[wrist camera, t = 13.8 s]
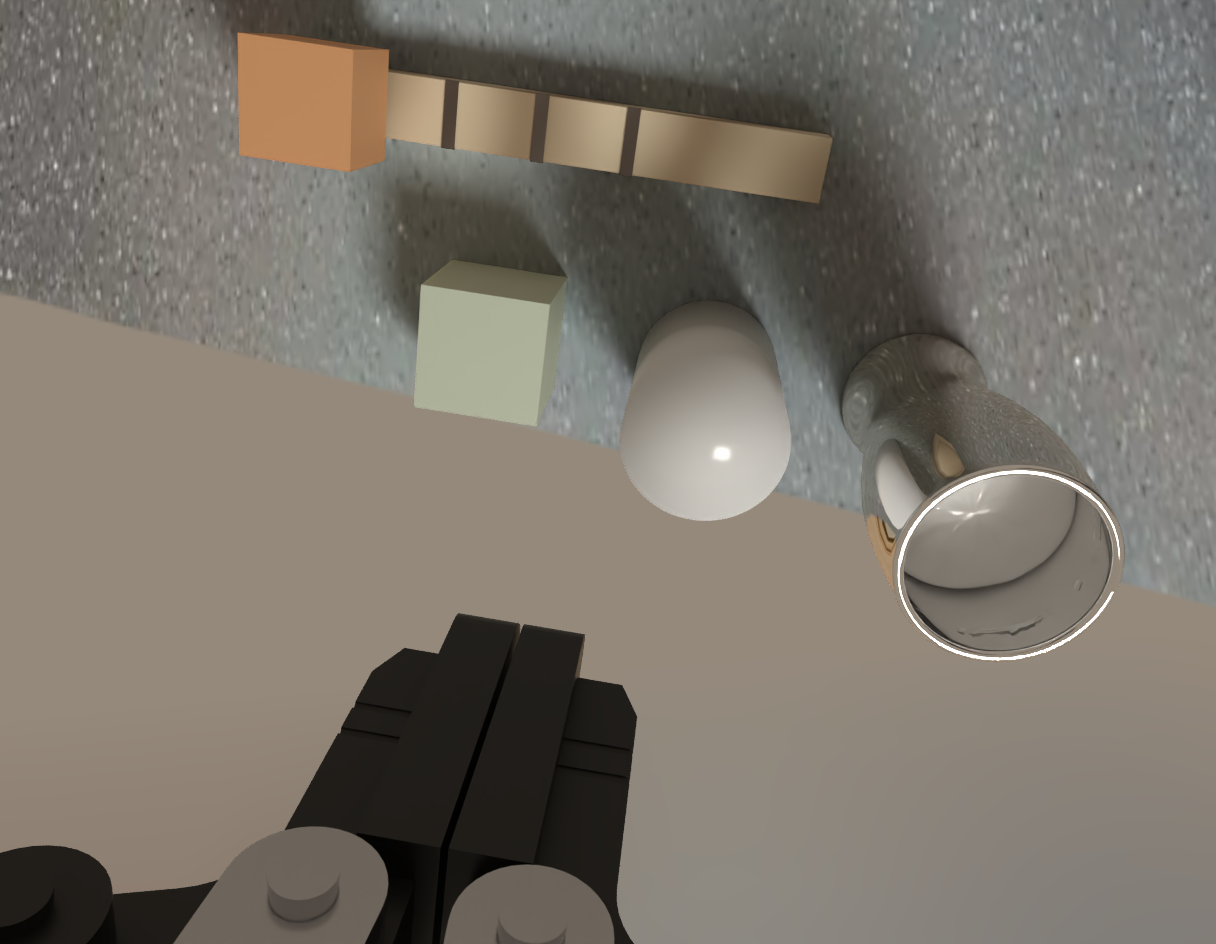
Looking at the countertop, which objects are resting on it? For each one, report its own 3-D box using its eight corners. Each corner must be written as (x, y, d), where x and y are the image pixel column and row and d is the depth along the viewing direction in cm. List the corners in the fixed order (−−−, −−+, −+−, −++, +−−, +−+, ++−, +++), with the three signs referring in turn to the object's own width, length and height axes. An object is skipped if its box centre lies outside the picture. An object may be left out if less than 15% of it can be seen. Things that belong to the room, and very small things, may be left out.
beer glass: (842, 317, 42) (905, 448, 28) (1012, 328, 41) (1162, 468, 27) (821, 469, 44) (868, 657, 31) (979, 481, 44) (1100, 679, 30)
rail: (827, 133, 39) (833, 137, 37) (813, 197, 40) (818, 205, 38) (281, 51, 40) (259, 51, 38) (281, 116, 41) (259, 120, 39)
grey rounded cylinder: (789, 312, 42) (807, 376, 33) (761, 442, 44) (772, 533, 36) (648, 290, 42) (632, 349, 34) (628, 421, 44) (609, 506, 36)
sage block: (567, 277, 42) (549, 304, 38) (554, 387, 44) (536, 426, 40) (452, 259, 42) (421, 284, 38) (444, 369, 44) (413, 406, 40)
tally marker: (389, 49, 37) (353, 49, 33) (384, 160, 39) (349, 172, 35) (284, 33, 37) (237, 32, 33) (284, 145, 39) (239, 154, 35)
